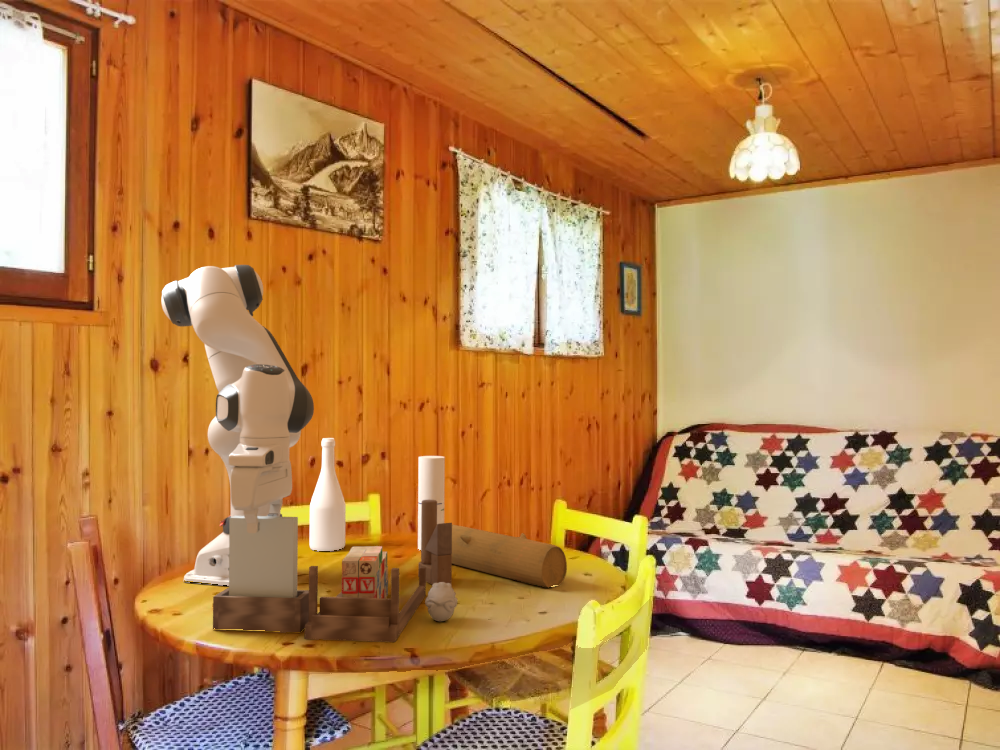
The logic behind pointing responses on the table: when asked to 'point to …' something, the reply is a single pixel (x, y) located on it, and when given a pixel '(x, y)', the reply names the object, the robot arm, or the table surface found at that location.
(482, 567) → the log
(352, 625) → the rack
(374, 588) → the stack of blocks
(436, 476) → the cylindrical container
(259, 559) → the sheet
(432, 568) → the brown wedge with rod
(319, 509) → the wine bottle
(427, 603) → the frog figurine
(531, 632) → the table surface
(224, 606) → the holder
